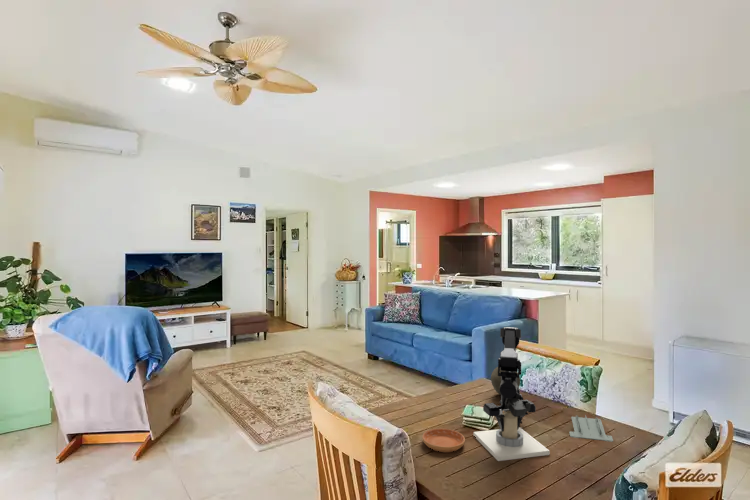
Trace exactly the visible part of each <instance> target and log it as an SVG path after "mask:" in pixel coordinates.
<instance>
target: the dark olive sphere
mask: <svg viewBox="0 0 750 500" xmlns="http://www.w3.org/2000/svg"><path fill="white" fill-rule="evenodd" d="M503 372H505V371H503ZM500 373H501V370H500ZM516 373H517V374H518V371H517V372H516ZM490 382H491V384H492V387H493V389H494V391H495V392H496V393H498V394H499V395H500V396H501V393H500V384H501V376H498V366H497V367H495V368H494V369H493V371H492V372H491V375H490ZM517 385H518V387H519V388H520V386H521V377H520V378H517Z"/></svg>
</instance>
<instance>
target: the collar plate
mask: <svg viewBox="0 0 750 500" xmlns="http://www.w3.org/2000/svg"><path fill="white" fill-rule="evenodd" d="M474 436H475V437H476V438H475V437H474ZM473 437H474V438H475V439H476V440H477V441H478V442H479V444H481V445H482V446H483V448H485V450H487V451H488V452H489V454H490V455H491V456H492V457H494V459H495V460H496V461H498V462H503V461H509V460H519V459H525V458H526V459H528V458H535V457H541V456H543V457H544V456H549V455H550V453H551V451H550V450H549V449H548V448H547V447H546V446H545V445H543V444H542V443H541V442H539V441H538V439H535V438H534V437H533V436H531V435H530V433H528V432H527V431H525V430H524V429H523V428H522V427H520V426H519V428H518V430H517V439H508V438H504V437H502V431H501V428H498V429H490V430H480V431H473Z"/></svg>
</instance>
